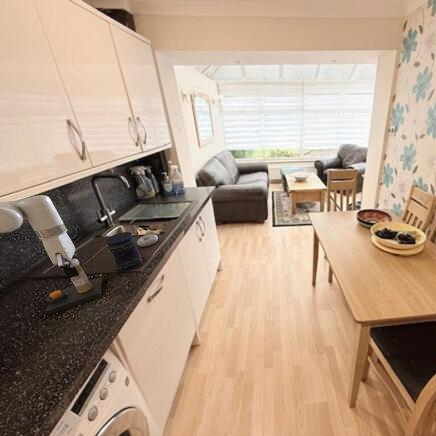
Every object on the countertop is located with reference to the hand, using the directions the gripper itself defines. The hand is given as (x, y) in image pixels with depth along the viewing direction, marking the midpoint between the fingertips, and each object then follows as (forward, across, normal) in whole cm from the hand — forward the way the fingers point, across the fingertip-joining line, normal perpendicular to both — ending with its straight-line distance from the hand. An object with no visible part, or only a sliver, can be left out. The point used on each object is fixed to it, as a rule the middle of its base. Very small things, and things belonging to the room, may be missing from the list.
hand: (75, 271), depth 91 cm
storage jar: (+11, -12, +15) cm, 22 cm away
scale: (+11, 0, -3) cm, 11 cm away
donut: (+11, -30, +23) cm, 39 cm away
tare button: (+8, 0, -8) cm, 11 cm away
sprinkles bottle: (+9, 0, 0) cm, 9 cm away
